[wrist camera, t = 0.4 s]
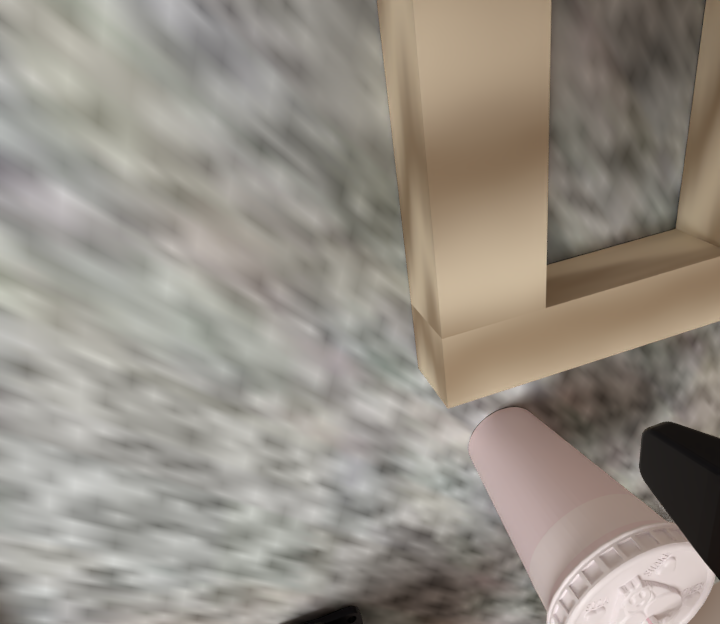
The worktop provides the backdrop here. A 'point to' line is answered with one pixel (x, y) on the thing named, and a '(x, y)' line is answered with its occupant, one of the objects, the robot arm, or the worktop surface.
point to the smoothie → (584, 530)
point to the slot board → (526, 205)
